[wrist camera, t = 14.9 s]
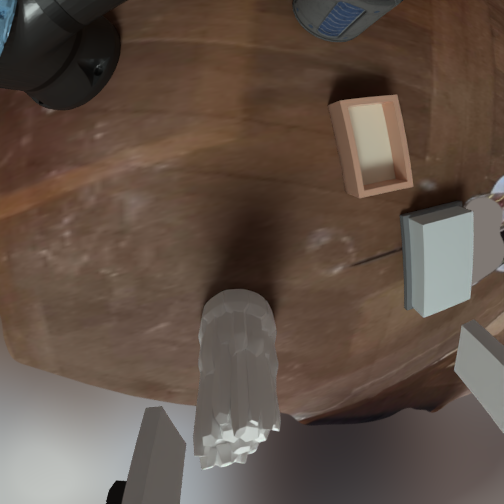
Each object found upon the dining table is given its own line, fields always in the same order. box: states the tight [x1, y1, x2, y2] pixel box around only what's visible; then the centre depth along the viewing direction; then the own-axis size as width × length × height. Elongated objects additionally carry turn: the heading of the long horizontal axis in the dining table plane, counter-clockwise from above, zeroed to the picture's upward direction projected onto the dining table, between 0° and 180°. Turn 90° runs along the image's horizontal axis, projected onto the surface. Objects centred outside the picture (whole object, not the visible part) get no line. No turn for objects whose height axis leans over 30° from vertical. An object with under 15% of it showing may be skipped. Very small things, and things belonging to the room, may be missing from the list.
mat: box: [400, 201, 462, 310], centre depth 44 cm, size 16×12×1 cm
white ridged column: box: [193, 289, 281, 469], centre depth 34 cm, size 11×11×25 cm
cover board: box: [409, 206, 474, 318], centre depth 42 cm, size 15×10×4 cm, turn 14°
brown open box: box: [328, 95, 413, 198], centre depth 36 cm, size 12×8×5 cm, turn 14°
